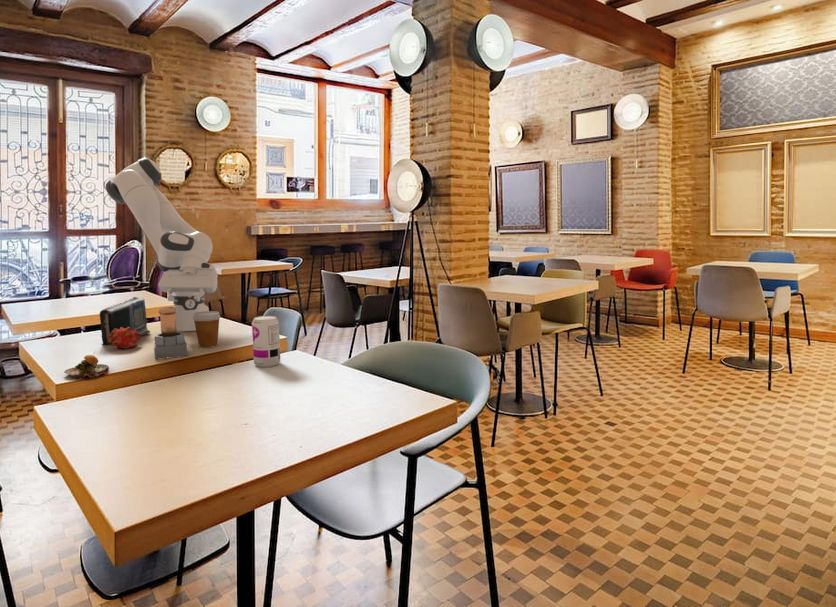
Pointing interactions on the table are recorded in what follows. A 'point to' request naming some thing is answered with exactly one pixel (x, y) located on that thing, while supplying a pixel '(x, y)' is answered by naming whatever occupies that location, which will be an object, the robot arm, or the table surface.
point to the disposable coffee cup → (207, 328)
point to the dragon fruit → (123, 338)
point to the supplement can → (266, 341)
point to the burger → (88, 368)
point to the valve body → (170, 346)
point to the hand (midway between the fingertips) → (183, 300)
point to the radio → (124, 318)
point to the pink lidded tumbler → (168, 321)
